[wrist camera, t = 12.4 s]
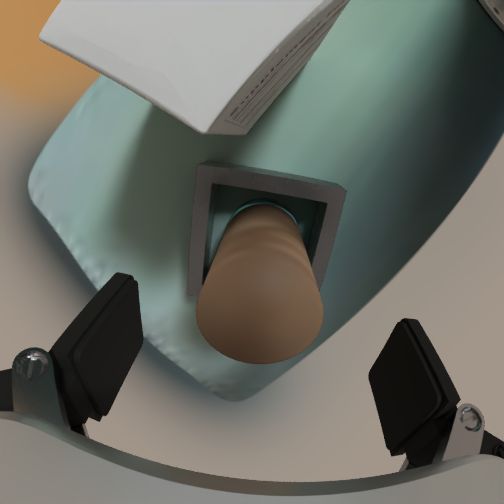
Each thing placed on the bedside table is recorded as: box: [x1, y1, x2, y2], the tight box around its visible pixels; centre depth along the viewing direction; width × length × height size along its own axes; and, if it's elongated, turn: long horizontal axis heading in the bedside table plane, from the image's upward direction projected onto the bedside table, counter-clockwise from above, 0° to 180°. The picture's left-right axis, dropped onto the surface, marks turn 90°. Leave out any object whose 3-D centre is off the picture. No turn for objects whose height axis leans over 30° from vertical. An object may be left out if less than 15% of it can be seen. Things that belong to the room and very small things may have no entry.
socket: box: [187, 161, 347, 296], centre depth 18 cm, size 9×9×2 cm
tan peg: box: [196, 199, 324, 364], centre depth 15 cm, size 5×5×10 cm
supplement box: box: [39, 0, 350, 135], centre depth 9 cm, size 7×7×13 cm
